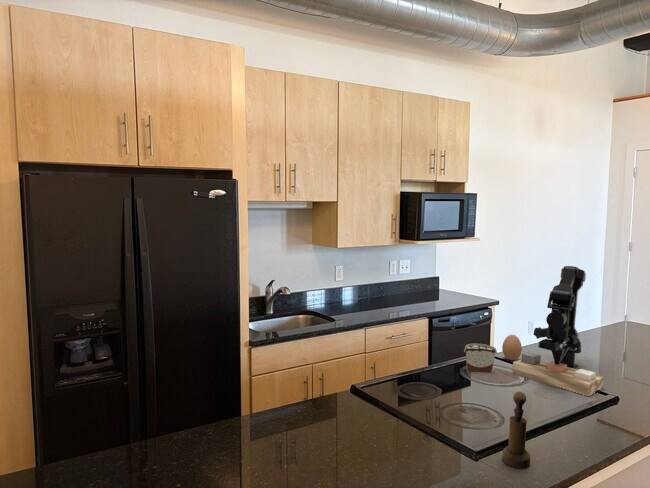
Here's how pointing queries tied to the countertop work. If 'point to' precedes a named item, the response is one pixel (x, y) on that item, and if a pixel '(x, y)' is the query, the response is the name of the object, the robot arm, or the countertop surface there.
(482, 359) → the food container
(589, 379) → the cream key
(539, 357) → the charcoal key
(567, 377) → the key panel
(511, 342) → the egg
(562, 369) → the terracotta key
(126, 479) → the countertop surface
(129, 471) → the countertop surface
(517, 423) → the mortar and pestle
